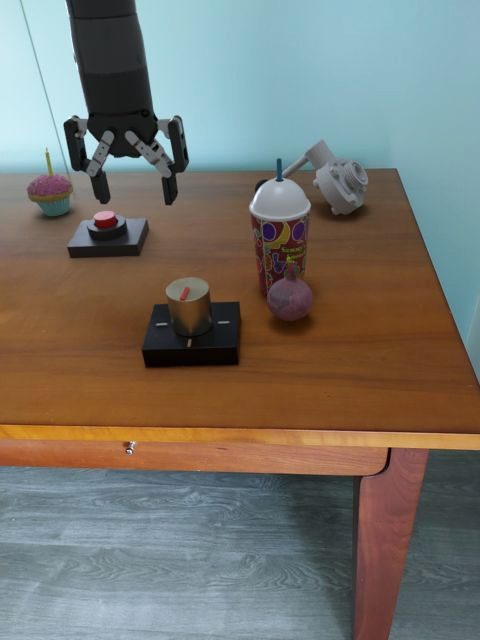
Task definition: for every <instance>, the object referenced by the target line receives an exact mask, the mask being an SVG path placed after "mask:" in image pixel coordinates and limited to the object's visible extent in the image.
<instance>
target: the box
mask: <svg viewBox="0 0 480 640" xmlns="http://www.w3.org/2000/svg"><path fill="white" fill-rule="evenodd" d="M115 216H116V220H117V224H116V225H114V226H112V227H108V228H97V227H96V224H95V220H94V217H93V218H92V219H85V220H84V219H83V220H81V222H80V223H79V225H78V227H77V228H76V230H75V232H74V234H73V235H72V237H71V239H70V241H69V242H68V244H67V246H66V249H67V252H68V254H69V255H68V256H69V258H70V259H85V258H86V259H87V258H115V257H116V258H117V257H140V255H141V253H142V251H143V247H144V245H145V241H146V239H147V236H148V233H149V230H150V226H149V222H148V218H147V217H140V218H136V217H135V218H125V217H124V216H123V215H120V214H117V213H115Z"/></svg>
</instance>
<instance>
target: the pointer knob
mask: <svg viewBox="0 0 480 640" xmlns="http://www.w3.org/2000/svg"><path fill="white" fill-rule="evenodd" d="M165 294H166V299H167V304H168V306H169V311H170V316H171V322H172V327H173V330H174V331H175V332H176V333H178V334H180V335H183V336H197V335H201V334H203V333H205V332H207V331H208V330H210V329H211V327H212V325H213V315H212V307H211V302H212V301H211V300H212V299H211V290H210V285H209V283H208V282H207V281H206V280H204V279H202V278H199V277H182V278H178V279H176V280H174V281H172V282H170V284H169V285H167V287H166V289H165Z"/></svg>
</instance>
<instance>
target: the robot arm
mask: <svg viewBox="0 0 480 640" xmlns="http://www.w3.org/2000/svg"><path fill="white" fill-rule="evenodd" d="M64 3H65V6H66V11H67V16H68V21H69V29H70V30H69V31H70V41H71V46H72V51H73V58H74V59H73V61H74V63H75V64H76V69H77V72H78V73H77V74H78V77H79V82H80V86H81V90H82V96H83V99H84V100H83V101H84V104H85V107H86V108H85V109H86V111H87V118H80V117H79V116H78V115H77V114H73V115H71V116H70V117H68V118H66V120H65V121H64V122H63V124H62V127H63V132H64V136H65V141H66V148H67V152H68V156H69V162H70V167H71V169H72V170H73V171H74V172H82V173H85V174H87V175H88V176H89V179H90V184H91V187H92V191H93V195H94V196H93V197H94V198H95V199H96V201H99V204H100V205H108V204H109V202H110V201H111V198H112V197H111V192H110V187H109V182H108V178H107V177H108V176H107V174H106V170H103V167H104V165H105V163H106V161H107V159H108V158H109V156H113V158H114V159H122V158H125V157H128V158H131V159H140V158H141V157H143V158H144V159H145V160H146V162H147V163H148V164H150V165H151V166H154V168H155V169H156V170H157V171H158V172H159V173H160V174H161V185H162V186H161V187H162V193H163V200H164V205H165V206H173V203H174V202H175V201H176V199H177V197H178V196H179V195H178V194H179V188H178V181H177V174H182V173H184V172H185V171H186V169H187V168H188V165H189V164H190V157H189V153H188V151H189V150H188V145H187V140H186V134H185V128H184V122H183V118H182V117H181V116H180V115H177V114H176V115H174V116H173V117H172V118H160V119H159V118H158V116H157V115H156V113H155V110H154V102H153V96H152V88H151V82H150V75H149V69H148V62H147V61H148V60H147V54H146V47H145V41H144V36H143V35H144V34H143V32H142V27H141V24H140V21H139V16H138V10H137V3H136V0H64ZM87 131H88V133H89V134H90V135H91V136H92V137H93V138H94V139H95V140H96V141H97V142H98V144H97V146H96V149H95V151H94V153H93V155H92V157H91V159H90V158H88V155H87V153H88V152H87V148H86V143H85V137H86V136H87ZM159 131H161V132H162V133H163V135H164V138H165V139H167V140H169V142H170V147H171V153H172V158H173V160H172V158H171V157H170V156H169V155H168V154H167V153H166V150H165V148H164V146H162V145H161V143H160V142H159V140H157V139H156V136H157V134H158V133H159Z"/></svg>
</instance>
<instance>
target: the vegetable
mask: <svg viewBox="0 0 480 640" xmlns="http://www.w3.org/2000/svg"><path fill="white" fill-rule="evenodd" d="M286 260H287V263H288V265H287V267H288V275H287V277H285V278H283V279H281V280H279V281H277V282H275V283H274V284H273V285H272V286H271V288H270V289H269V292H268V296H266V304H267V307H268V310H269V311H270V313H271V314H272V315H274V317H276V318H277V319H279V320H283V321H285V322H293V321H294V322H295V321H297V320H300V319H302V318H303V317H305V316H306V315H307V314H308V313H309V311H310V310H311V308H312V305H313V300H314V295H313V292H312V290H311V288H310V286H309V285H308V283H306V282H305V281H304V282H303V281H302V280H300V279H298V278H296V270H295V265H294V260H293V261H292V260H291V258H290V257H287V259H286Z"/></svg>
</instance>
